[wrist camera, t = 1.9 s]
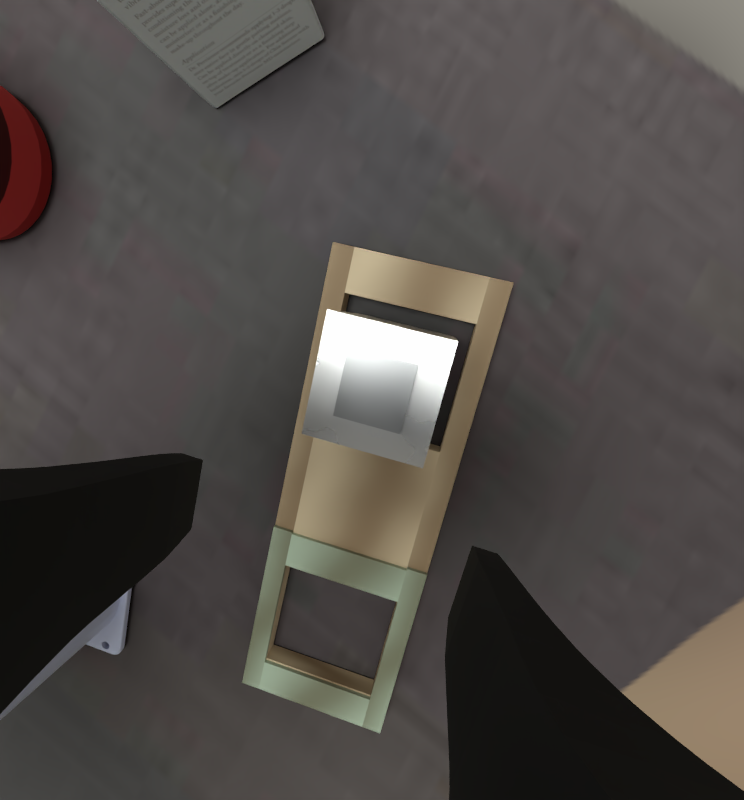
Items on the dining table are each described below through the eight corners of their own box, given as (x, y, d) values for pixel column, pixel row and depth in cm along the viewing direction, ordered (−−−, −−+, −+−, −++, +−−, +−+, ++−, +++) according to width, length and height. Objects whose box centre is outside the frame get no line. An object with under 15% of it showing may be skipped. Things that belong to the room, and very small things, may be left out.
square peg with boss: (341, 403, 21) (298, 435, 15) (361, 313, 20) (324, 308, 14) (429, 427, 20) (422, 471, 14) (454, 336, 19) (458, 341, 13)
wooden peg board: (251, 666, 25) (241, 684, 23) (338, 246, 20) (331, 241, 18) (382, 714, 24) (379, 734, 22) (510, 284, 19) (514, 282, 17)
